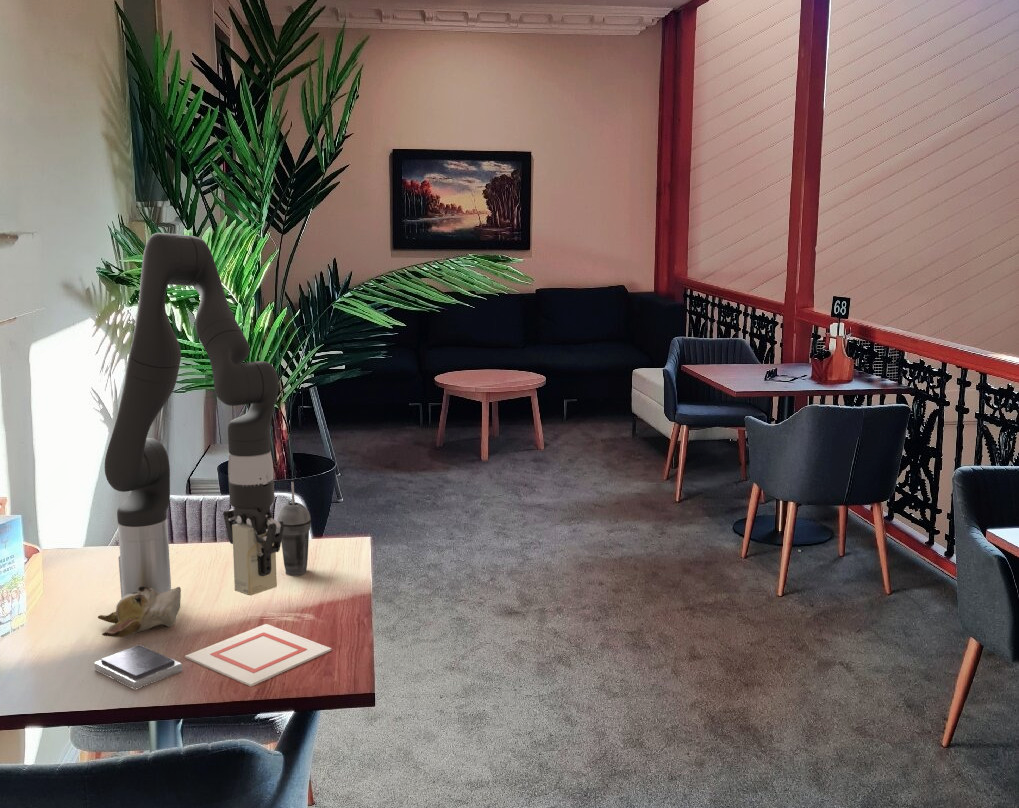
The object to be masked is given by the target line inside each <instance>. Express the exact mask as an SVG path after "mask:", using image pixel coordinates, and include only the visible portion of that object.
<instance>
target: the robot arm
mask: <svg viewBox="0 0 1019 808" xmlns="http://www.w3.org/2000/svg"><path fill="white" fill-rule="evenodd" d="M140 271H141V272H140V283H139V292H138V294H139V295H138V304H137V311H136V312H137V313H136V316H135V317H136V318H135V323H134V330H133V335H132V340H131V345H130V349H129V354H128V358H127V359H128V360H127V364H126V370H125V377H124V384H123V388H122V392H121V393H122V394H121V398H120V402H119V408H118V413H117V417H116V420H115V423H114V426H113V431H112V433H111V437H110V440H109V443H108V445H107V446H108V447H107V450H106V454H105V458H104V474H105V475H104V476H105V477H106V480H107V482H108V484H109V486H110V487H111V488H112V489H114V491H118V492H122V493H125V492H130V494H129V495H128V496H127V498H126V499H125V500H124V502H122V503H121V504H120V505H119V507H118V508H117V512H116V517H117V518H116V519H117V529H118V530H117V531H118V533H117V534H118V542H119V543H118V544H119V556H118V570H119V583H120V597H121V599H122V598H123V597H124V596H125V595H127V594H132V593H135V592H138V589H139V587H148V588H152V589H153V590H154V591H155V592H156V593H164V592H166V591H168V590H171V589H172V577H171V561H170V545H169V532H168V527H169V526H168V515H167V514H168V513H167V512H168V509H169V508H168V507H170V506H169V505H170V501H171V471H170V470H171V468H170V467H171V465H170V460H169V456H168V453H167V450H166V448H165V446H164V445H163V444H162V443H161V442H160V441H159V440H158V439H156V438H152V437H148V434H149V431H150V429H151V426H152V425H153V423H154V421H155V420H156V417H157V416H158V415H159V414H160V412H161V411H162V410H163V407H164V406H165V404H166V403H167V402H168V401H169V399H170V397H171V395H172V393H173V391H174V390H175V387H176V384H177V380H178V376H179V375H178V374H179V370H180V366H181V359H182V349H181V346H180V343H179V341H178V338H177V335H176V333H175V331H174V329H173V327H172V325H171V323H170V321H169V318H168V315H167V312H166V293H167V289H168V285H170V286H171V285H172V286H185V287H187V286H188V287H189V286H191V287H193V288H194V289H195V290H196V292H197V293H198V295H199V297H200V302H199V305H198V308H197V311H196V314H195V322H194V323H195V324H194V325H195V331H196V334H197V337H198V339H199V341H200V343H201V344H202V347H203V349H204V350H205V352H206V355H207V356H208V359H209V363H210V366H211V372H212V376H213V387H214V392H215V395H216V397H217V398H218V400H219V401H220V402H221V403H223V404H224V405H227V406H229V407H233V406H234V407H236V406H244V405H250V406H249V409H248V411H247V412H246V413H245V414H243V415H241V416H238V417H236V418H233V419H232V420H230V421H229V423H228V425H227V438H228V439H227V442H228V443H227V445H228V463H227V471H228V472H227V473H228V475H227V477H228V491H229V492H228V493H229V505H231V507H233V508H231V509H227V510H225V511H223V512H222V515H223V519H224V524H225V526H226V532H227V536H228V540H229V543H230V545H233V532H232V525H233V524H237V523H238V524H240V525H242V524H247V526H248V527H251V528H253V536H254V543H255V544H256V548H257V552H258V555H259V556H257V558H258V574H259V576H265V575H268V574H270V572H271V554H272V553H275V552H276V553H278V552H280V549H281V546H282V544H281V540H282V534H283V529H284V523H283V521H279V522H277V521H278V520H277V521H276V519H274V518H273V514H272V510H271V507H272V505H273V504H274V502H275V483H274V482H275V481H274V479H275V478H274V463H273V462H274V461H273V457H272V447H271V443H272V442H271V425H272V420H273V416H274V415H273V414H274V410H275V407H276V406H275V405H276V401H277V398H278V393H279V388H280V387H279V386H280V381H279V375H278V373H277V371H276V369H275V367H274V366H273V365H272V363H270V362H268V361H264V360H263V361H262V360H260V361H259V360H258V361H257V360H256V361H251V362H250V361H249V362H244V361H245V360H246V359H247V358H248V356H249V355H250V345H249V342H248V340H247V338H246V336H245V335H244V333H243V331H242V329H241V327H240V325H239V323H238V322H237V320H236V318H235V317H234V315H233V312H232V310H231V308H230V306H229V303H228V300H227V297H226V294H225V289H224V287H223V283H222V281H221V277H220V274H219V271H218V268H217V265H216V261H215V260H214V256H213V254H212V251H211V250H210V247H209V245H208V244H207V243H206V241H205V240H203V239H202V238H201V237H198V236H194V235H187V234H177V233H169V232H168V233H167V232H155V233H152V235H150V236H149V237H148V240H147V241H146V244H145V247H144V251H143V255H142V263H141V270H140ZM266 531H267V535H266V536H264V537H261V538H259V537H258V535H261V534H264V533H265V532H266ZM263 541H265V548H263V545H262V542H263ZM273 543H274V545H273V546H272V544H273ZM121 599H120V600H121Z"/></svg>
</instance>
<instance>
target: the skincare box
mask: <svg viewBox="0 0 1019 808" xmlns="http://www.w3.org/2000/svg"><path fill="white" fill-rule="evenodd" d="M232 532H233V544H232V550H233V551H232V552H233V554H232V555H233V576H234V577H233V578H234V581H233V582H234V591H235V592H237V593H240V594H244V595H247V596H250V597H251V596H253V595H257V594H259V593H263V592H266V591H269V590H273V589H275V588H277V587H278V582H277V581H278V580H277V554H276V553H277V552H275V553H272V554H271V572H270V574H268V575H265V576H259V574H258V558H257V556H259V555H258V552H257V548H256V544H255V543H254V536H253V528H251V527H248V526H247V524H242V525H240V524H238V523H237V524H233V525H232ZM266 535H267V531H266V532H265V533H264V534H261V535H258V537H259V538H261V537H264V536H266ZM262 545H263V548H265V541H263V542H262ZM273 545H274V543H273V544H272V546H273Z"/></svg>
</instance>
